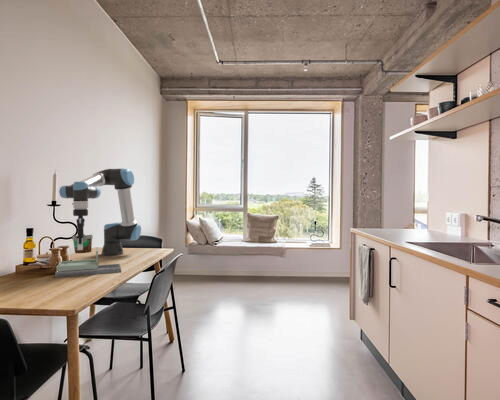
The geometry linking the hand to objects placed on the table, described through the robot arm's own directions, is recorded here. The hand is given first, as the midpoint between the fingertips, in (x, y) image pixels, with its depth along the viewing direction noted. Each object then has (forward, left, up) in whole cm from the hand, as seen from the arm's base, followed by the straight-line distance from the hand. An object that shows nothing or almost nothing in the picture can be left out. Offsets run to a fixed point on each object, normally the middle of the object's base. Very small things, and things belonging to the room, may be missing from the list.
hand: (80, 248), depth 193 cm
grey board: (0, +5, -13) cm, 14 cm away
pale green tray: (0, -1, -11) cm, 11 cm away
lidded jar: (-21, -19, -14) cm, 31 cm away
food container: (0, 0, -2) cm, 3 cm away
